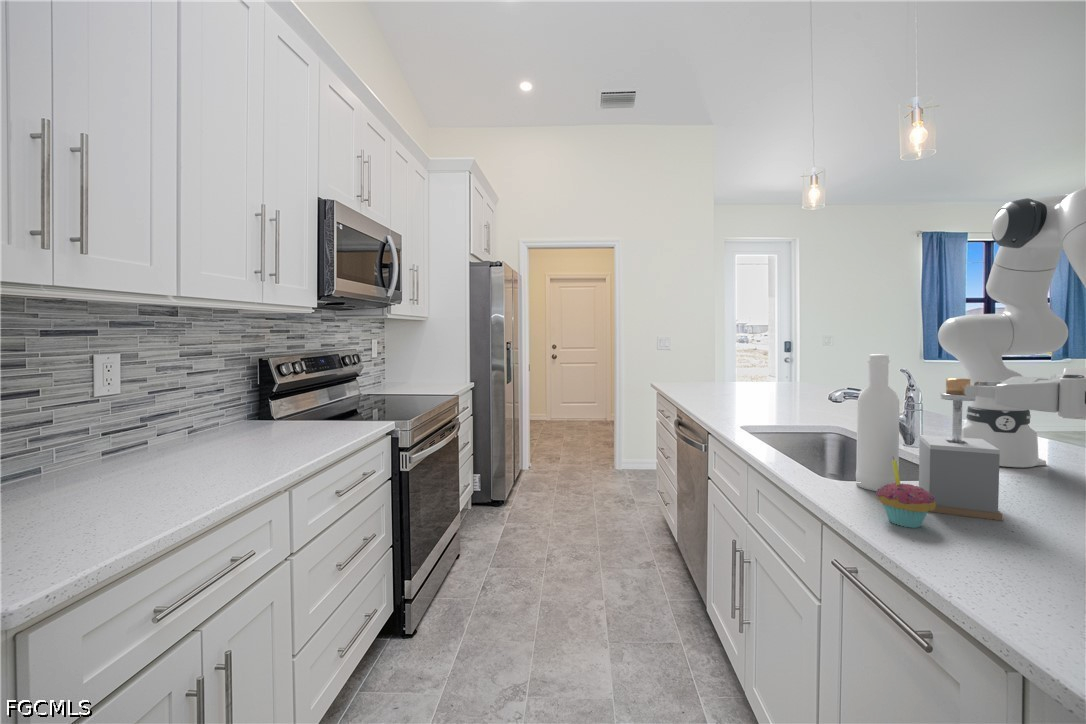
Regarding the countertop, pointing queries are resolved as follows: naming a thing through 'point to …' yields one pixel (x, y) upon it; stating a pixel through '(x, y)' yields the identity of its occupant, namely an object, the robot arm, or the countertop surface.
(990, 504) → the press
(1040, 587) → the countertop surface
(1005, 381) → the robot arm
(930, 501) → the cupcake
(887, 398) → the bottle
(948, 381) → the plunger
